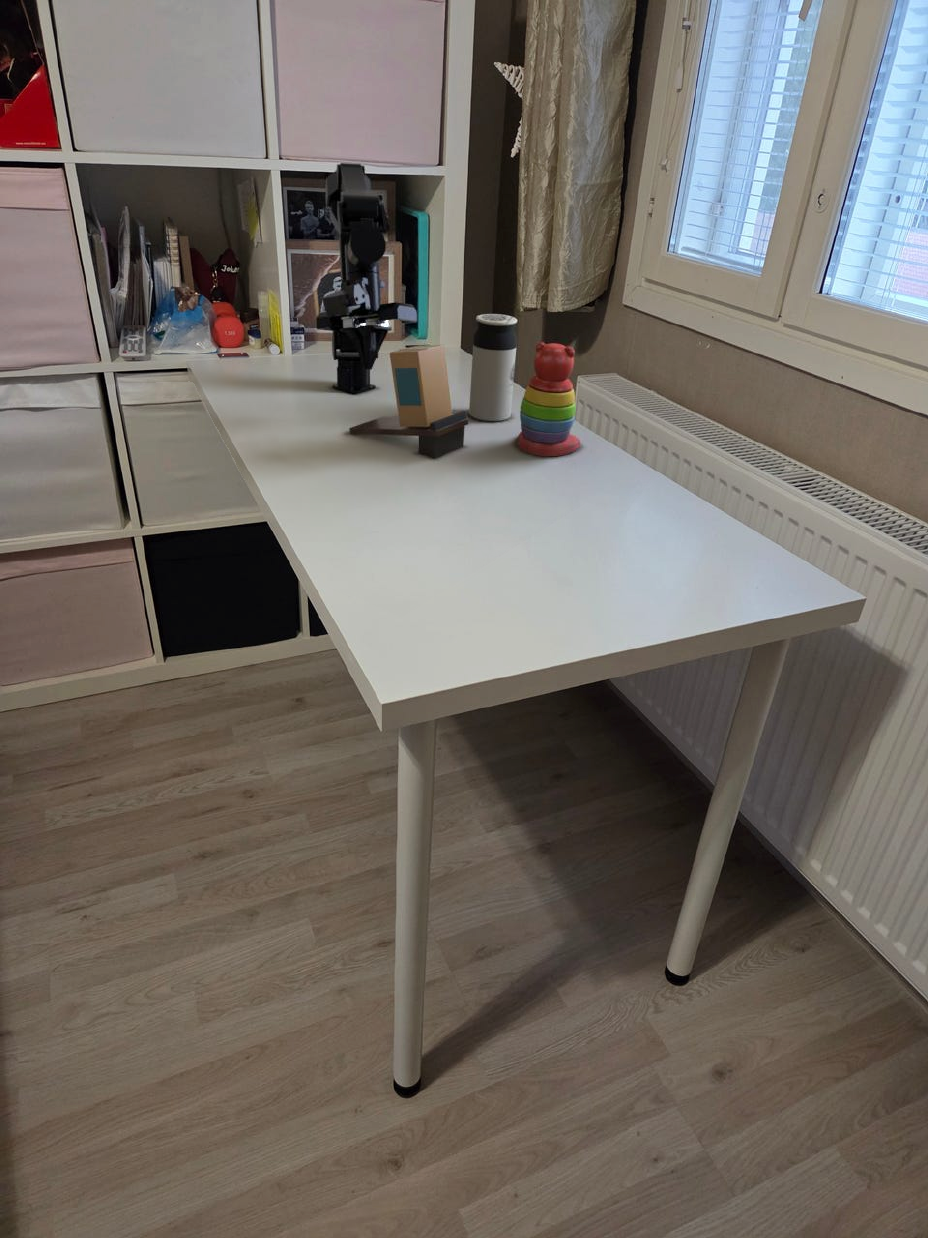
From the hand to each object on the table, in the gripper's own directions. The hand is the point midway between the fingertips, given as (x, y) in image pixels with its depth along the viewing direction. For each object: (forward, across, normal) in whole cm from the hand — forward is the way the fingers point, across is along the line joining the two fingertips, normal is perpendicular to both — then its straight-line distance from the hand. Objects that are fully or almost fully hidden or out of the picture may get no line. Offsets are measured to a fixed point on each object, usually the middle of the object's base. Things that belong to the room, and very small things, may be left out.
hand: (368, 369), depth 148 cm
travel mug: (+8, +10, +23) cm, 26 cm away
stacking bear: (+14, +26, +15) cm, 34 cm away
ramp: (+12, +7, +1) cm, 14 cm away
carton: (+10, +11, 0) cm, 14 cm away
